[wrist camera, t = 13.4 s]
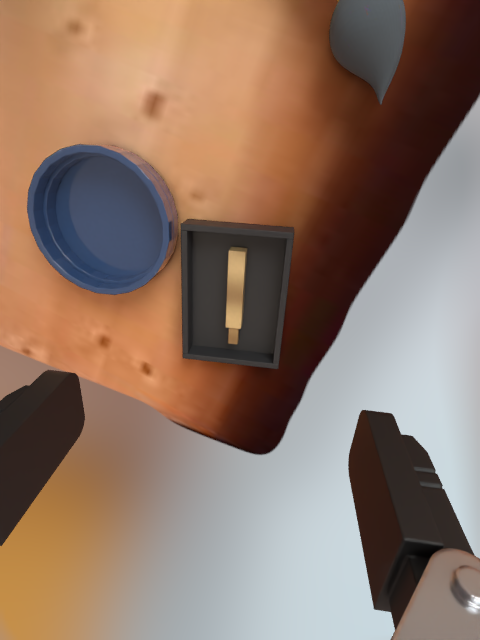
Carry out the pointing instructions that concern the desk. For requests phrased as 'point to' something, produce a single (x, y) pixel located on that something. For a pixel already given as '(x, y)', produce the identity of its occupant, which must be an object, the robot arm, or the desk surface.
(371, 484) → the robot arm
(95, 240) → the bowl
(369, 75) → the paintbrush
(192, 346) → the pen tray
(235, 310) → the wooden stick
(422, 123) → the desk surface
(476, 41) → the desk surface
